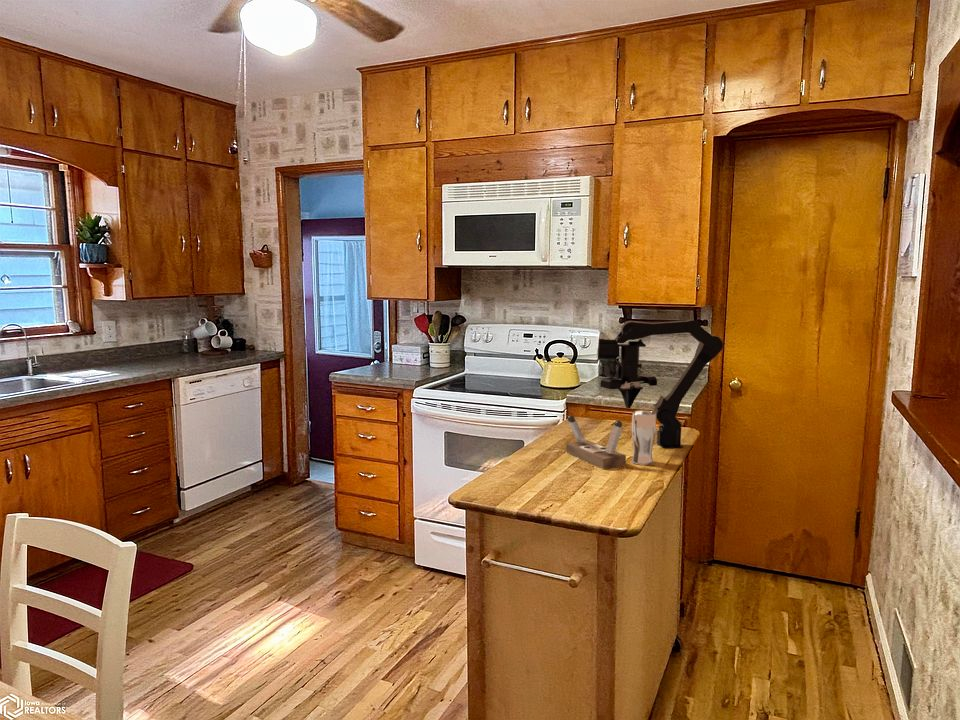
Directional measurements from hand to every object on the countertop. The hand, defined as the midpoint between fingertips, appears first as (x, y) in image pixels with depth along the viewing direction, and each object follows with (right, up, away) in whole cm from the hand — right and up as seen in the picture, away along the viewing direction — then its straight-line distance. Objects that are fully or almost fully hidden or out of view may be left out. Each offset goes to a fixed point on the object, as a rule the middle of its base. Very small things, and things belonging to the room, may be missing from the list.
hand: (628, 408), depth 211 cm
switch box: (-13, -14, -15) cm, 24 cm away
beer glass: (0, -15, -18) cm, 24 cm away
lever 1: (-16, -10, -9) cm, 21 cm away
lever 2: (-10, -11, -21) cm, 26 cm away
